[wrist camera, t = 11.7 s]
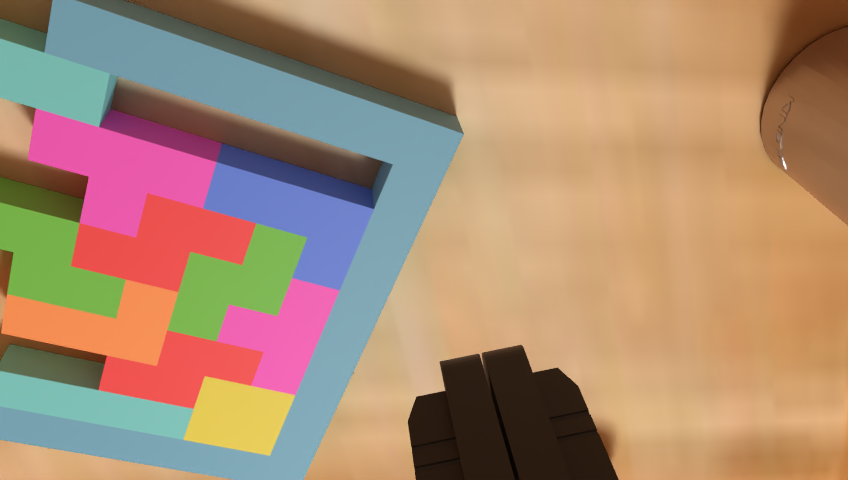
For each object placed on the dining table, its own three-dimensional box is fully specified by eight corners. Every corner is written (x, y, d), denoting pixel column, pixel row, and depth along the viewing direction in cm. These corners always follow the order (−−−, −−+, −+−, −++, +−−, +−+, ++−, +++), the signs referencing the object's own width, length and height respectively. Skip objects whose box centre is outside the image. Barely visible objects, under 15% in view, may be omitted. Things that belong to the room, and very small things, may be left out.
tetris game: (455, 113, 39) (-135, -95, 31) (463, 133, 37) (-173, -86, 29) (299, 458, 52) (-150, 376, 44) (298, 490, 50) (-177, 409, 41)
